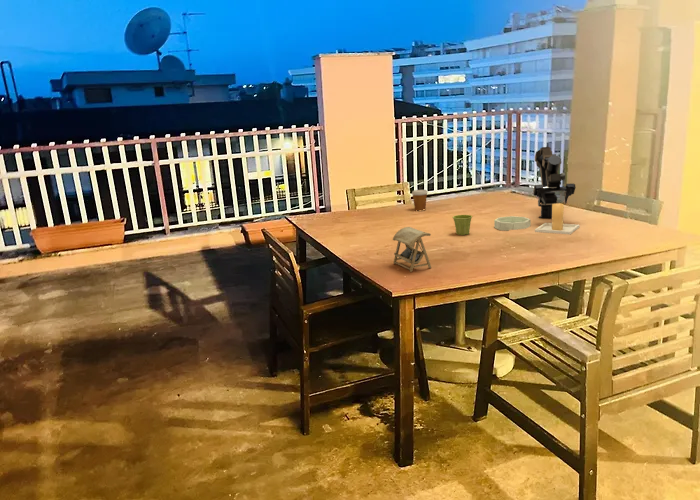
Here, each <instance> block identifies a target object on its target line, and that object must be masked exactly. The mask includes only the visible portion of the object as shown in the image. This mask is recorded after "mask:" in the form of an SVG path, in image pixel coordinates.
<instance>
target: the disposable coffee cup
mask: <svg viewBox="0 0 700 500" xmlns="http://www.w3.org/2000/svg"><path fill="white" fill-rule="evenodd" d="M428 193H429V192H428V189H415V190H412V192H411V194H412V200H413V206H414V211H415V210H423V209H425V210H426V209H427V208H426V206H427V199H428V198H427V196H428Z"/></svg>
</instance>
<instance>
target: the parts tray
mask: <svg viewBox="0 0 700 500" xmlns="http://www.w3.org/2000/svg"><path fill="white" fill-rule="evenodd" d="M579 228H580V224H573V223H563V230H560V231H559V230H552V222H544V223H543V224H541V225H539V226H538V227H536V228H535V229H534V232H535V233H543V234H561V235H572V234H573V233H574V232H576V231H577V230H578V229H579Z"/></svg>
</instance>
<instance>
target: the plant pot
mask: <svg viewBox="0 0 700 500" xmlns="http://www.w3.org/2000/svg"><path fill="white" fill-rule="evenodd" d="M472 218H473V216H472V215H471V214H457V215H453V216H452V219H453V222H454V226H455V233H456V235H457V236H465V235H470V231H471V230H470V229H471V222H472Z"/></svg>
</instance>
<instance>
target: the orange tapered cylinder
mask: <svg viewBox="0 0 700 500" xmlns="http://www.w3.org/2000/svg"><path fill="white" fill-rule="evenodd" d="M564 207H565V204H564V203H560V202H559V203H556V204H552V218H551V223H552V230H559V231H560V230H563V224H564V212H565V211H564V209H565V208H564Z"/></svg>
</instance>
